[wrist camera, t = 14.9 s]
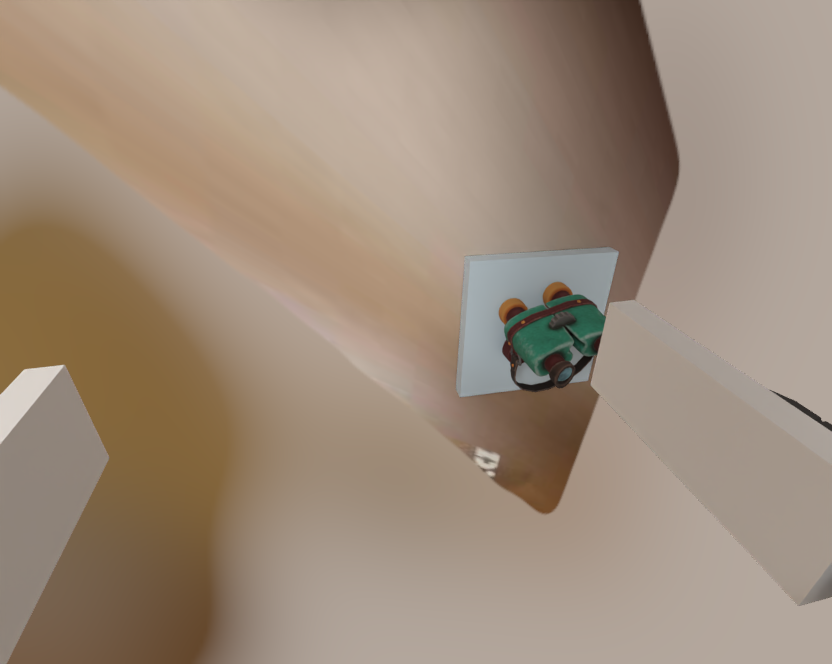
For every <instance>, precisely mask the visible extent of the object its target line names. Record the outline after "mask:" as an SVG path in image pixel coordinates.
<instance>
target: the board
mask: <svg viewBox="0 0 832 664" xmlns="http://www.w3.org/2000/svg"><path fill="white" fill-rule="evenodd" d="M618 254H619V252H618V251H616V250H614V249H612V248H611V247H602V248H586V249H571V250H555V251H539V252H523V253H507V254H491V255H476V256H465V264H464V278H463V292H462V307H461V321H460V336H459V350H458V365H457V379H456V390H457V392H458V394H459V396H460V397H467V396H474V395H482V394H490V393H497V392H505V391H513V390H521V389H520V388H519V387H518V386H516V385H515V383H514V381H513V380H512V378H511V372H510V369H511V366H510V362H509V361H508V360H507V358H506V357H505V356H504V355H503V353H502V348H503V345H504V342H505V341H506V337H505V333H504V326H505V324H504V323H503V322H502V321H501V320H500V318H499V308H500V306H501V305H502V303H503V302H505V301H506V300H508V299H510V298H517V299H520V300H521V301H522V302H523V303H524V304H525V305H526V306H527V308H528V309H530V308H533V307H536V306H539V305H544V306H545V304H544V302H543V293H544V291H545V289H546V288H547V287H548V286H549V285H550V284H552V283H554V282H562V283H564V284H565V285H566V286H567V287H569V288H570V289H571V291H572V293H573V295H576V294H579V295H583V296H585V297H586V298H587V299H589V300H591V301H592V302H594V303H595V304H596V305H597V308H598V310H599V311H600V312H601V313H602V314H603V315H604V312H605V308H606V303H607V299H608V295H609V291H610V287H611V283H612V278H613V274H614V270H615V266H616V262H617V258H618ZM545 307H546V306H545ZM546 308H547V307H546ZM547 309H548V308H547ZM570 351H571V352H572V354H573V358H572V360H571V361H570V362H571V363H572V364H573V365H575V364H576V363H577V362H578V361H579V360H580V359H581V358H582V357H583V356H584V355H582V354H581V353H580V352H579V351H578V350H577V349H576V348H575V347H574V346H573V345H572V347H571V348H570ZM593 358H594V356H593ZM593 358H592V360H591V361H590V362H589V363H588V364H587V365H586V366H585V367H584V368H583V370H582V371H580V372H579V373H578V374H576V375H575V376H574V377H573V379H572V380H571V381H570V383H575V382H582V381H588V378H589V374H590V370H591V366H592V362H593ZM548 380H550V377H549V374H548V375H546V376H542V377H540V376H537V375H536V374H535V373H534V372H533V371H532V370H531V369H530V368H529V366H528V365H527V364H526V363H525V362H524V363H522V365H521V366H519V365H518V367H517V372H516V381H517V382H518V383H524V384H529V385H533V384H538V383H542V382H546V381H548Z"/></svg>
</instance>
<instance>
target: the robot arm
mask: <svg viewBox="0 0 832 664" xmlns="http://www.w3.org/2000/svg"><path fill="white" fill-rule="evenodd" d="M590 385H591V386H592V387H593V388H594V389H595V391H596V392H597V393H598V394H599V395H600V396H601V397H602V398H603V399H604V400H605V401H606V402H607V403H608V404H609V405H610V406H611V407H612V409H613V410H614V411H615V412H616V413H617V414H618V415H619V416H620V417H621V418H622V419H623V420H624V421H625V422H626V423H627V425H628V426H629V427H630V428H631V429H632V430H633V431H634V432H635V433H636V434H637V435H638V436H639V437H640V438H641V439H642V441H643V442H644V443H645V444H646V445H647V446H648V447H649V448H650V449H651V450H652V451H653V452H654V453H655V454H656V455H657V456H658V458H659V459H661V461H662V462H663V463H664V464H665V465H666V466H667V467H668V468H669V469H670V470H671V471H672V472H673V473H674V474H675V476H676V477H677V478H678V479H679V480H680V481H681V482H682V483H683V484H684V485H685V486H686V487H687V488H688V489H689V490H690V492H691V493H692V494H693V495H694V496H695V497H696V498H697V499H698V500H699V501H700V502H701V503H702V504H703V505H704V506H705V508H706V509H707V510H708V511H709V512H710V513H711V514H712V515H713V516H714V517H715V518H716V519H717V520H718V521H719V522H720V523H721V524H722V525H723V527H724V528H725V529H726V530H727V531H728V532H729V533H730V534H731V535H732V536H733V537H734V538H735V539H736V540H737V542H739V544H741V546H742V547H743V548H744V549H745V550H746V551H747V552H748V553H749V554H750V555H751V556H752V557H753V558H754V560H756V562H757V563H758V564H759V565H760V566H761V567H762V568H763V569H764V570H765V571H766V572H767V573H768V574H769V576H770V577H771V578H772V579H773V580H774V581H775V582H776V583H777V584H778V585H779V586H780V587H781V588H782V589H783V590H784V592H785V593H786V594H787V595H788V596H789V597H790V598H791V599H792V600H793V601H794V602H795V603H796V604H797V605H798V606H801V605H805V604H808V603H812V602H815V601H819V600H823V599H826V598H829V597H832V425H831V424H829V423H828V422H826V421H825V422H822V421H821V418H820V417H819V416H817V415H816V414H814V413H813V412H811V411H810V410H808V409H807V408H805V407H804V406H802V405H801V404H799V403H798V402H796V401H794V400H792V399H789V398H787V397H785V396H783V395H780V394H778V393H776V392H774V391H771V390H769V389H767V388H766V387H764V386H762V385H761V384H760V383H758V382H756V381H755V380H754V379H752V378H751V377H749V376H748V375H746V374H745V373H743V372H742V371H740V370H739V369H737V368H736V367H734V366H733V365H731V364H730V363H728V362H727V361H725V360H724V359H722V358H721V357H719V356H718V355H716V354H715V353H713V352H712V351H710V350H709V349H707V348H706V347H704V346H702V345H701V344H700V343H698V342H697V341H695V340H694V339H692V338H691V337H689V336H688V335H686V334H685V333H683V332H682V331H680V330H679V329H677V328H676V327H674V326H673V325H671V324H670V323H668V322H667V321H665V320H664V319H662V318H661V317H659V316H658V315H656V314H655V313H653V312H652V311H650V310H649V309H647V308H646V307H644V306H643V305H641V304H640V303H638V302H637V301H635V300H629V301H620V302H612V303H609V307H608V311H607V316H606V320H605V324H604V329H603V333H602V337H601V341H600V346H599V350H598V354H597V359H596V363H595V367H594V371H593V376H592V380H591V384H590ZM108 460H109V456H108V454H107V452H106V450H105V448H104V446H103V444H102V441H101V439H100V437H99V435H98V433H97V431H96V429H95V427H94V425H93V423H92V421H91V418H90V417H89V414H88V412H87V410H86V408H85V406H84V404H83V402H82V400H81V398H80V395H79V393H78V391H77V389H76V387H75V385H74V383H73V381H72V379H71V377H70V375H69V372H68V371H67V369H66V366H65V365H60V366H51V367H43V368H33V369H26V370H23V371H22V373H21V374H20V375H19V376H18V377H17V378H16V379H15V380H14V381H13V382H12V383H11V384H10V385H9V386H8V388H6V390H5V391H4V392H3V393H2V394H1V395H0V664H7V662H8V660H9V658H10V656H11V654H12V652H13V650H14V648H15V646H16V644H17V642H18V640H19V638H20V636H21V634H22V632H23V630H24V628H25V626H26V624H27V622H28V620H29V618H30V616H31V614H32V612H33V610H34V607H35V606H36V604H37V602H38V600H39V598H40V596H41V594H42V592H43V590H44V587H45V585H46V584H47V582H48V580H49V578H50V576H51V574H52V572H53V570H54V568H55V566H56V564H57V562H58V560H59V558H60V555H61V554H62V552H63V550H64V548H65V546H66V544H67V542H68V540H69V537H70V536H71V533H72V532H73V530H74V528H75V526H76V524H77V522H78V520H79V518H80V516H81V514H82V512H83V510H84V508H85V506H86V504H87V502H88V500H89V498H90V496H91V493H92V492H93V490H94V488H95V486H96V484H97V482H98V480H99V478H100V476H101V474H102V472H103V469H104V467H105V465H106V464H107V462H108Z"/></svg>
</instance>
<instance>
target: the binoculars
mask: <svg viewBox="0 0 832 664" xmlns="http://www.w3.org/2000/svg"><path fill="white" fill-rule="evenodd" d="M543 302H544V304H545V306H546V307H547V308H548V309H547V308H546V307H545V306H544V305H539V306H536V307H533V308H530V309H528V308H527V306H526V305H525V304H524V303H523V302H522V301H521V300H520V299H517V298H510V299H508V300H506V301H505V302H503V303H502V305H501V306H500V308H499V318H500V320H501V321H502V322H503V323H504V324H505V326H504V333H505V337H506V341H505V342H504V345H503V348H502V353H503V355H504V356H505V357H506V358H507V360H508V361H509V362H510V366H511V369H510V372H511V378H512V380H513V381H514V383H515V385H516V386H518V387H519V388H520V389H522V390H526V391H532V392H538V391H543V390H548V389H551V388H553V387H555V386H556V387H557V388H563V387H565V386H566V385H567V384H569V383H570V381H571V380H572V379H573V377H574V376H575V375H576V374H578V373H579V372H580V371H582V370H583V368H584V367H585V366H586V365H587V364H588V363H589V362H590V361H591V360H592V358H593V356H595V355H597V354H598V350H599V346H600V341H601V337H602V333H603V329H604V324H605V320H606V317H605V316H604V315H603V314H602V313H601V312H600V311H599V310H598V308H597V305H596V304H595V303H594V302H592V301H591V300H589V299H587V298H586V297H585V296H583V295H579V294H576V295H573V293H572V291H571V289H570V288H569V287H567V286H566V285H565V284H564V283H562V282H554V283H552V284H550V285H549V286H548V287H547V288H546V289H545V291H544V293H543ZM572 345H573V346H574V347H575V348H576V349H577V350H578V351H579V352H580V353H581V354H582V355H584V356H583V357H582V358H581V359H580V360H579V361H578V362H577V363H576V364H575V365H573V364H572V363H571V362H570V361H571V360H572V358H573V354H572V352H571V351H570V348H571V347H572ZM524 362H525V363H526V364H527V365H528V366H529V368H530V369H531V370H532V371H533V372H534V373H535V374H536V375H537V376H540V377H542V376H546V375H548V374H549V377H550V380H548V381H546V382H542V383H538V384H533V385H529V384H524V383H518V382H517V381H516V372H517V367H518V365H519V366H521V365H522V363H524Z"/></svg>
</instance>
